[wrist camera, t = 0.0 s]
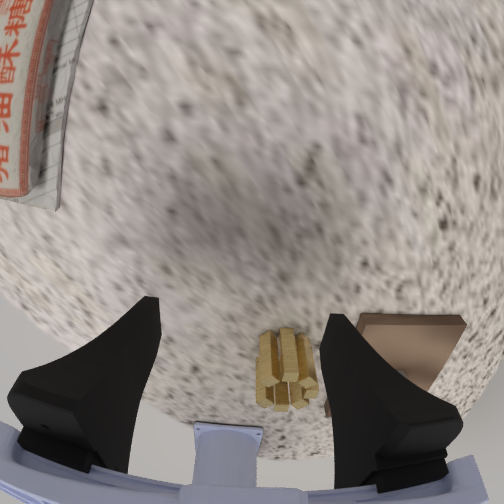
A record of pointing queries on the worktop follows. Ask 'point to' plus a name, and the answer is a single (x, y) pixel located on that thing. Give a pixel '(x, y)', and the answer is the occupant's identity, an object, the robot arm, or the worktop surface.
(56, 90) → the packaged product
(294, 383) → the wooden block ring
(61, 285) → the worktop surface
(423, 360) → the post base
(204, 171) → the worktop surface
